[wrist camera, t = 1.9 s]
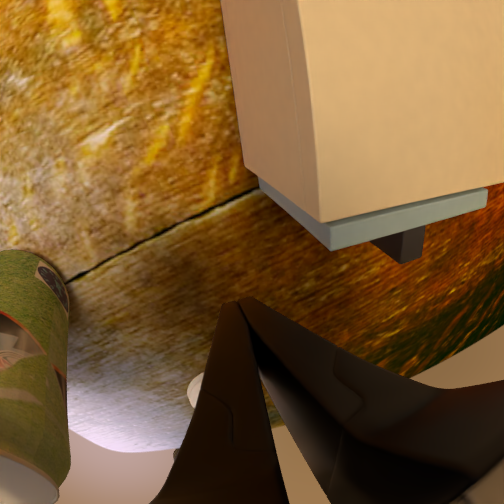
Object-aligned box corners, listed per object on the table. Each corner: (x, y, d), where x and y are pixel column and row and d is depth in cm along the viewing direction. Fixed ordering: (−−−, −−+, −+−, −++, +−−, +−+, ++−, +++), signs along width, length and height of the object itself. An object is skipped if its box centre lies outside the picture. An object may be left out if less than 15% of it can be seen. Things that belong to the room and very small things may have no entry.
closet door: (388, 195, 18) (479, 244, 11) (263, 222, 16) (330, 301, 10) (389, 153, 16) (488, 189, 10) (257, 173, 15) (329, 227, 9)
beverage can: (-30, 256, 12) (-134, 414, 2) (70, 221, 14) (-33, 433, 3) (15, 341, 15) (-29, 507, 5) (110, 321, 17) (104, 528, 6)
